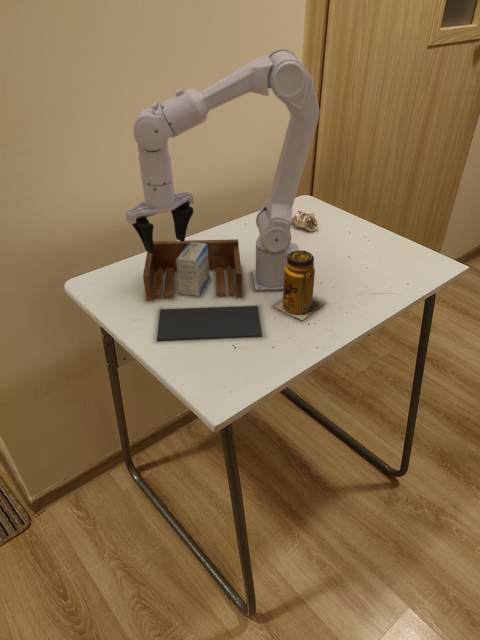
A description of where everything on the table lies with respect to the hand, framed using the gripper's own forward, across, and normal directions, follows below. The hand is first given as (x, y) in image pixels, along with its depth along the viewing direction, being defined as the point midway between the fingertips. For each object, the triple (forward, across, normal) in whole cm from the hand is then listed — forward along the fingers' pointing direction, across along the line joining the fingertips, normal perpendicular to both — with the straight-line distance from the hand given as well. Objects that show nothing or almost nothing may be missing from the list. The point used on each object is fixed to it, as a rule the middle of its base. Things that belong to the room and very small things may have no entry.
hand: (165, 245), depth 103 cm
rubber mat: (+10, +2, +17) cm, 19 cm away
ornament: (+10, -44, -1) cm, 45 cm away
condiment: (+10, -16, +24) cm, 31 cm away
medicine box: (+10, -4, +4) cm, 11 cm away
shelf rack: (+10, -5, +3) cm, 11 cm away
